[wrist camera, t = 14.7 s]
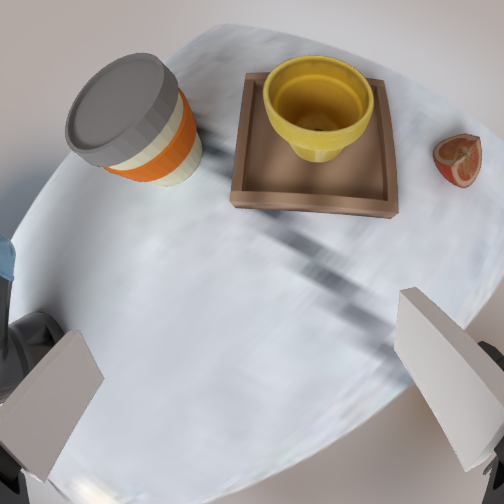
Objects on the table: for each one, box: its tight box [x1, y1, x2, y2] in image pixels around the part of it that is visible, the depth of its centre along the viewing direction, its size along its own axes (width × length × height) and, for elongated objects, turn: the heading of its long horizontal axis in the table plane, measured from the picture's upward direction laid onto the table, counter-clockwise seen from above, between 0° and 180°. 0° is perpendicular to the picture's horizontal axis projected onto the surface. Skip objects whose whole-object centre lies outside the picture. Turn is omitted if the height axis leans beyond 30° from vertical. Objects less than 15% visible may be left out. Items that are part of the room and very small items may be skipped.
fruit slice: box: [433, 134, 482, 188], centre depth 26 cm, size 8×7×5 cm
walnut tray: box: [230, 72, 398, 219], centre depth 31 cm, size 18×18×3 cm
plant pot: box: [263, 55, 374, 163], centre depth 26 cm, size 10×10×10 cm
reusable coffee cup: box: [65, 53, 202, 187], centre depth 28 cm, size 13×12×15 cm
